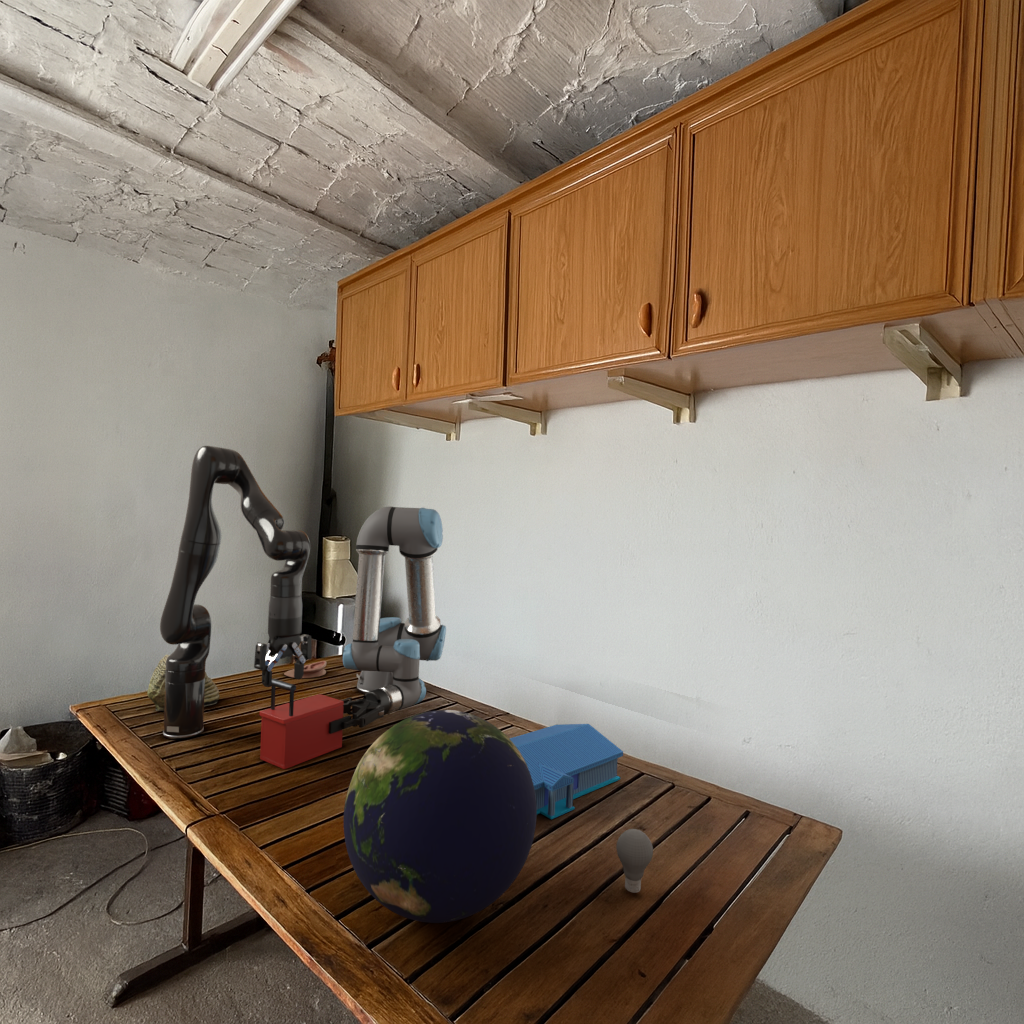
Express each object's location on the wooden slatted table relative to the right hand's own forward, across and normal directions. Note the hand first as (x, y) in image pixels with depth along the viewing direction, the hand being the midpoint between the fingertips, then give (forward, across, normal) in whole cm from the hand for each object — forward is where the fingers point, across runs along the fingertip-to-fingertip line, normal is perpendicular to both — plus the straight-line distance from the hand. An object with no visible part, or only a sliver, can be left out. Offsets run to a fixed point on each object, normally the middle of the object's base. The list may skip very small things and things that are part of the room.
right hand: (316, 723), depth 159 cm
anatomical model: (-40, +54, -6) cm, 68 cm away
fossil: (+4, +53, -6) cm, 54 cm away
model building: (-16, -55, -6) cm, 57 cm away
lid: (+4, 0, +4) cm, 6 cm away
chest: (+4, 0, -6) cm, 7 cm away
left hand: (+10, 0, +13) cm, 16 cm away
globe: (+29, -64, -6) cm, 71 cm away
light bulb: (+6, -88, -6) cm, 88 cm away
